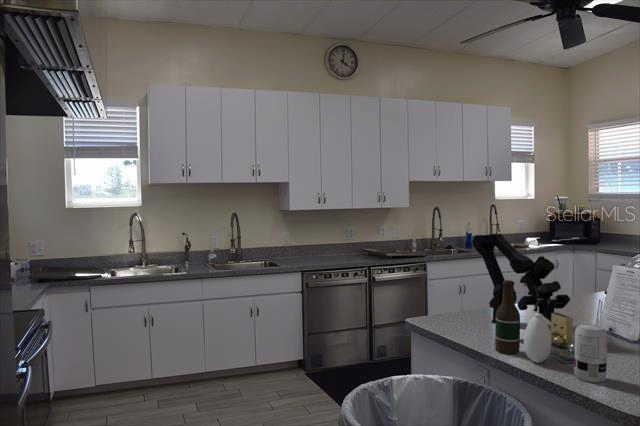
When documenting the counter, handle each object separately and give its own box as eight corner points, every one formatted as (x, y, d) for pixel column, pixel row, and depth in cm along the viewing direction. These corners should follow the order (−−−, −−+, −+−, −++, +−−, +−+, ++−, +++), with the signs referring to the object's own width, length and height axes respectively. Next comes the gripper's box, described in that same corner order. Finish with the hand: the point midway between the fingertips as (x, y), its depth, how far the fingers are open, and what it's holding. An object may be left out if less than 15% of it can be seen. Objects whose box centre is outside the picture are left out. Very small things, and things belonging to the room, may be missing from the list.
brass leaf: (542, 340, 182) (543, 313, 181) (556, 340, 183) (557, 312, 182) (557, 347, 174) (557, 318, 173) (571, 346, 175) (572, 317, 174)
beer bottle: (519, 349, 174) (520, 279, 173) (520, 356, 167) (521, 283, 166) (495, 346, 177) (496, 278, 176) (495, 353, 169) (496, 281, 168)
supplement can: (568, 373, 151) (569, 323, 150) (594, 373, 152) (596, 323, 151) (584, 383, 143) (586, 330, 142) (612, 383, 143) (614, 330, 143)
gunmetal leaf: (550, 353, 168) (551, 343, 168) (574, 352, 170) (575, 341, 170) (565, 360, 161) (565, 349, 161) (590, 359, 163) (590, 348, 163)
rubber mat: (516, 340, 185) (516, 339, 184) (553, 338, 187) (553, 337, 187) (564, 364, 159) (564, 363, 159) (605, 361, 162) (605, 360, 162)
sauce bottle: (518, 360, 162) (519, 304, 162) (534, 356, 166) (535, 302, 166) (539, 367, 156) (540, 309, 155) (555, 363, 160) (557, 306, 159)
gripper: (522, 274, 185) (540, 310, 175) (567, 272, 189) (588, 308, 179) (509, 291, 193) (526, 327, 183) (553, 290, 197) (572, 325, 187)
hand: (553, 322), depth 182 cm, fingers closed, pressing on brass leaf
